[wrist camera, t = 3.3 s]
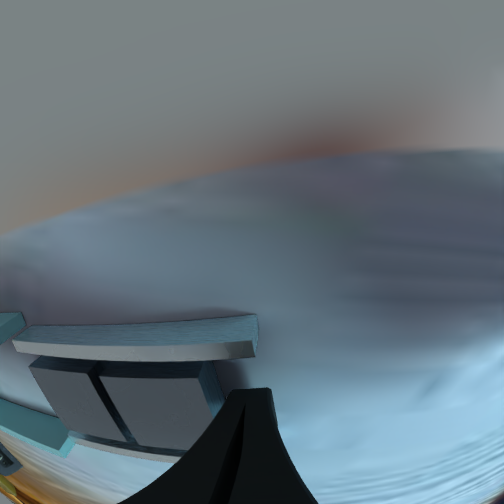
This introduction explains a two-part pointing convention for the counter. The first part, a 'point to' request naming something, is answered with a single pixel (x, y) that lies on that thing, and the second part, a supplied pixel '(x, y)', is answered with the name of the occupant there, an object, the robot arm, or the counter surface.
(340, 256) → the counter surface
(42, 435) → the tray
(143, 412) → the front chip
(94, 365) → the block
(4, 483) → the saucer
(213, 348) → the slot guide
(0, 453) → the external hard drive
